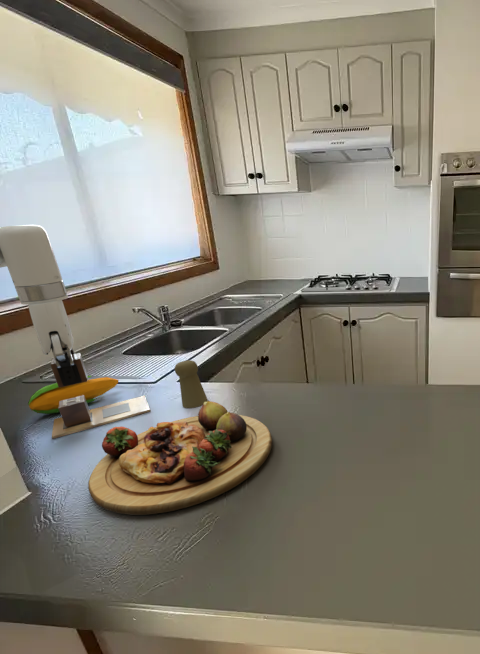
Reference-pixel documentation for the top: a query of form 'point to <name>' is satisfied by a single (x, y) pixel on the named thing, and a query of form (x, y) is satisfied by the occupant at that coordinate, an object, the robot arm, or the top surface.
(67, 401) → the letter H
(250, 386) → the top surface
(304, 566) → the top surface
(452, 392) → the top surface
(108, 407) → the word board
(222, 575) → the top surface
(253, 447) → the wooden plate
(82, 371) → the brown cube
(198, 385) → the pepper mill
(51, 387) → the corn
